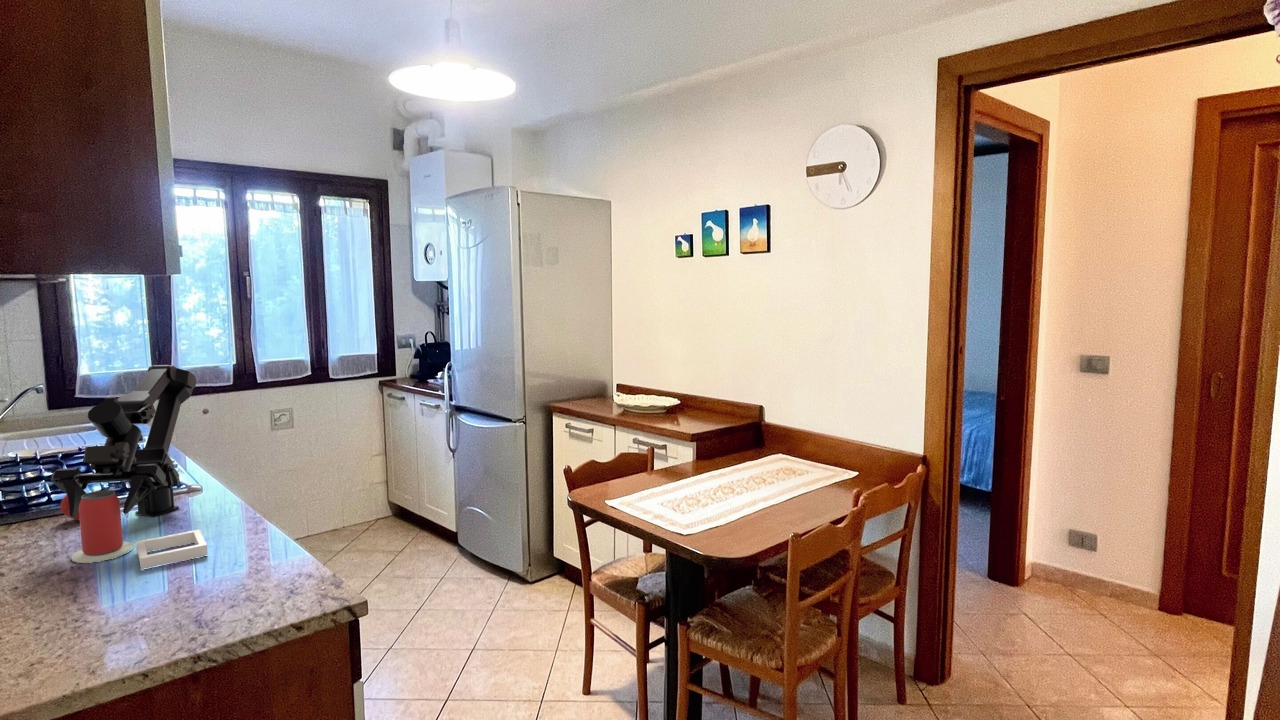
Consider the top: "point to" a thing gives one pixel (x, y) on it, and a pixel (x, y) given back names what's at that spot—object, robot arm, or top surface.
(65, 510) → the onion
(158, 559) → the collar
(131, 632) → the top surface
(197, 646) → the top surface
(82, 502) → the beer can
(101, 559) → the coaster
